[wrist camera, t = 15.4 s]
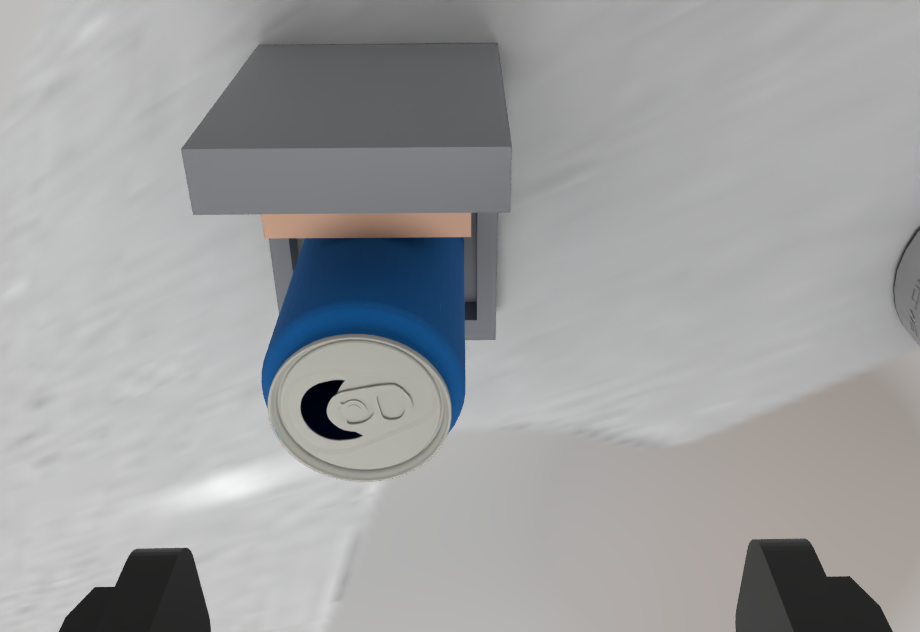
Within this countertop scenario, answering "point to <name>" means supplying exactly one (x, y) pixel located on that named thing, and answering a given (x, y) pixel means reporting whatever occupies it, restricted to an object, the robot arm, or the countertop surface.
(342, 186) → the grey bracket
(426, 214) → the thin tan plate
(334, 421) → the beverage can
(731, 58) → the countertop surface
